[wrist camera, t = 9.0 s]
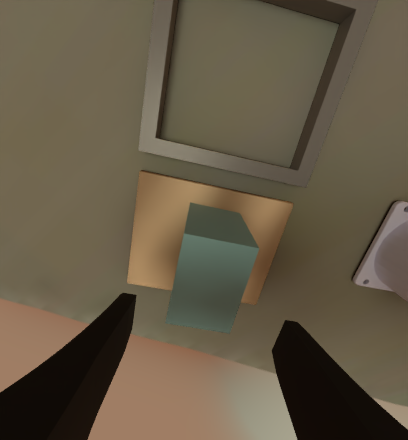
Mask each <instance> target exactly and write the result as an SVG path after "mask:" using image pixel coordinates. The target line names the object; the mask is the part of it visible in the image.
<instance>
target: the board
mask: <svg viewBox="0 0 408 440" xmlns="http://www.w3.org/2000/svg"><path fill="white" fill-rule="evenodd" d="M190 202H191V203H195V204H200V205H205V206H209V207H214V208H219V209H224V210H228V211H233V212H238V213H240V214H241V216H242V218H243V220H244V221H245V223H246V225H247V227H248V229H249V231H250V232H251V234H252V236H253V238H254V240H255V241H256V243H257V245H258V247H259V251H258V254H257V257H256V260H255V263H254V265H253V268H252V271H251V274H250V277H249V280H248V283H247V285H246V288H245V291H244V294H243V297H242V300H241V302H242V303H248V304H254V305H256V304H257V301H258V298H259V296H260V293H261V290H262V288H263V285H264V282H265V280H266V277H267V274H268V272H269V269H270V266H271V264H272V261H273V258H274V256H275V253H276V250H277V248H278V245H279V242H280V240H281V237H282V234H283V231H284V229H285V226H286V223H287V221H288V218H289V215H290V213H291V210H292V207H293V205H294V204H293V203H291V202H288V201H283V200H278V199H274V198H269V197H264V196H260V195H255V194H251V193H246V192H241V191H237V190H232V189H227V188H223V187H218V186H213V185H209V184H204V183H199V182H195V181H190V180H185V179H181V178H176V177H172V176H167V175H162V174H158V173H153V172H148V171H144V170H141V171H140V172H139V181H138V190H137V199H136V208H135V217H134V226H133V235H132V244H131V253H130V262H129V271H128V280H127V283H130V284H136V285H142V286H148V287H154V288H160V289H166V290H172V288H173V283H174V278H175V273H176V268H177V263H178V258H179V253H180V249H181V244H182V239H183V234H184V229H185V225H186V220H187V215H188V210H189V205H190Z"/></svg>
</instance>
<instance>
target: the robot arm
mask: <svg viewBox="0 0 408 440" xmlns="http://www.w3.org/2000/svg"><path fill="white" fill-rule="evenodd" d="M405 207H406V209H405V210H404V208H405ZM364 280H365V281H364ZM353 282H354V283H355V284H357V285H360V286H366V287H371V288H376V289H382V290H387V291H393V292H395V293H397V294H398V295H399V296H401V297H402V298H403V299H404V300H406V301H407V302H408V202H404V201H397V202H395V203H394V204H393V205H392V207H391V209H390V211H389V212H388V214H387V216H386V218H385V220H384V222H383V224H382V225H381V227H380V229H379V231H378V233H377V235H376V237H375V238H374V240H373V242H372V244H371V246H370V248H369V250H368V251H367V253H366V255H365V257H364V259H363V261H362V263H361V264H360V266H359V268H358V270H357V272H356V274H355V276H354V277H353ZM135 303H136V295H133V294H127V293H122V294H120V295H119V297H118V298H117V299H116V300H115V301H114V302H113V303H112V304H111V305H110V306H109V307H108V308H107V309H106V310H105V311H104V312H103V313H102V314H101V315H100V316H99V317H97V318H96V319H95V320H94V321H93V322H92V323H91V324H90V325H89V326H88V327H87V328H85V329H84V330H83V331H82V332H81V333H80V334H78V335H77V336H76V337H75V338H74V339H72V340H71V341H70V342H69V343H68V344H66V345H65V346H64V347H63V348H62V349H60V350H59V351H58V352H56V353H55V354H54V355H53V356H51V357H50V358H49V359H47V360H46V361H45V362H43V363H42V364H41V365H39V366H38V367H37V368H35V369H34V370H32V371H31V372H30V373H28V374H27V375H25V376H24V377H22V378H21V379H20V380H18V381H17V382H15V383H14V384H12V385H11V386H9V387H8V388H6V389H5V390H4V391H2V392H0V440H87V439H88V436H89V434H90V431H91V428H92V426H93V423H94V421H95V418H96V416H97V413H98V411H99V409H100V406H101V404H102V402H103V400H104V397H105V395H106V393H107V391H108V388H109V386H110V384H111V382H112V379H113V377H114V375H115V372H116V370H117V368H118V366H119V363H120V361H121V359H122V356H123V354H124V352H125V349H126V345H127V343H128V340H129V336H130V333H131V330H132V325H133V318H134V310H135ZM272 354H273V359H274V364H275V369H276V373H277V377H278V380H279V384H280V387H281V390H282V393H283V396H284V399H285V402H286V405H287V408H288V412H289V415H290V418H291V421H292V423H293V427H294V430H295V433H296V436H297V440H408V430H407V429H406V428H405V427H404V426H403V425H401V424H400V423H399V422H398V421H397V420H396V419H395V418H393V417H392V416H391V415H390V414H389V413H388V412H387V411H386V410H384V409H383V408H382V407H381V406H380V405H379V404H378V403H377V402H376V401H375V400H374V399H372V398H371V397H370V396H369V395H368V394H367V393H366V392H365V391H364V390H363V389H362V388H361V387H360V386H359V385H358V384H357V383H356V382H355V381H354V380H353V379H352V378H351V377H350V376H349V375H348V374H347V373H346V372H345V371H344V370H343V369H342V368H341V367H340V366H339V365H338V364H337V363H336V362H335V361H334V360H333V359H332V358H331V357H330V356H329V355H328V354H327V353H326V351H325V350H324V349H323V348H322V347H321V346H320V345H319V344H318V343H317V342H316V341H315V340H314V339H313V338H312V337H311V335H310V334H309V333H308V332H307V331H306V330H305V329H304V328H303V327H302V326H301V325H300V324H299V323H298V322H294V321H288V320H285V322H284V324H283V327H282V329H281V331H280V333H279V336H278V338H277V340H276V342H275V345H274V347H273V349H272Z"/></svg>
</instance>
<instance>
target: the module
mask: <svg viewBox="0 0 408 440" xmlns="http://www.w3.org/2000/svg"><path fill="white" fill-rule="evenodd" d="M258 251H259V247H258V245H257V243H256V241H255V240H254V238H253V236H252V234H251V232H250V231H249V229H248V227H247V225H246V223H245V221H244V220H243V218H242V216H241V214H240V213H238V212H233V211H228V210H224V209H219V208H214V207H209V206H205V205H200V204H195V203H191V202H190V205H189V210H188V215H187V220H186V225H185V229H184V234H183V239H182V244H181V249H180V253H179V258H178V263H177V268H176V273H175V278H174V283H173V288H172V293H171V298H170V302H169V307H168V312H167V317H166V322H165V323H167V324H174V325H180V326H186V327H192V328H198V329H205V330H211V331H217V332H223V333H229V334H230V331H231V328H232V326H233V323H234V320H235V317H236V314H237V311H238V308H239V305H240V303H241V300H242V297H243V294H244V291H245V288H246V285H247V283H248V280H249V277H250V274H251V271H252V268H253V265H254V263H255V260H256V257H257V254H258Z"/></svg>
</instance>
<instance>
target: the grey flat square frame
mask: <svg viewBox="0 0 408 440" xmlns="http://www.w3.org/2000/svg"><path fill="white" fill-rule="evenodd" d="M261 1H264V2H268V3H271V4H274V5H278V6H281V7H285V8H288V9H291V10H295V11H298V12H301V13H305V14H308V15H312V16H315V17H318V18H322V19H325V20H329V21H332V22H335V23H339V24H340V25H339V28H338V31H337V34H336V36H335V39H334V42H333V45H332V48H331V51H330V54H329V57H328V60H327V62H326V65H325V68H324V71H323V74H322V77H321V80H320V83H319V86H318V88H317V91H316V94H315V97H314V100H313V103H312V106H311V109H310V111H309V114H308V117H307V120H306V123H305V126H304V129H303V132H302V135H301V137H300V140H299V143H298V146H297V149H296V152H295V155H294V158H293V160H292V163H291V166H290V168H285V167H281V166H277V165H272V164H268V163H264V162H259V161H255V160H251V159H246V158H242V157H237V156H233V155H229V154H224V153H220V152H216V151H211V150H207V149H203V148H198V147H194V146H189V145H185V144H181V143H176V142H172V141H168V140H163V139H160V132H161V124H162V117H163V110H164V102H165V95H166V88H167V80H168V73H169V66H170V58H171V51H172V43H173V36H174V29H175V21H176V14H177V7H178V0H154V8H153V17H152V27H151V36H150V46H149V55H148V64H147V74H146V83H145V93H144V102H143V112H142V121H141V130H140V140H139V149H138V150H139V151H143V152H148V153H152V154H157V155H161V156H166V157H170V158H175V159H179V160H184V161H188V162H193V163H197V164H202V165H206V166H211V167H215V168H220V169H224V170H229V171H233V172H238V173H242V174H247V175H251V176H256V177H260V178H265V179H269V180H274V181H278V182H283V183H287V184H292V185H296V186H301V187H305V188H306V187H307V185H308V182H309V179H310V177H311V174H312V172H313V169H314V166H315V164H316V161H317V159H318V156H319V153H320V151H321V148H322V146H323V143H324V140H325V138H326V135H327V133H328V130H329V127H330V125H331V122H332V120H333V117H334V114H335V112H336V109H337V107H338V104H339V101H340V99H341V96H342V94H343V91H344V88H345V86H346V83H347V81H348V78H349V75H350V73H351V70H352V68H353V65H354V62H355V60H356V57H357V55H358V52H359V49H360V47H361V44H362V42H363V39H364V36H365V34H366V31H367V29H368V26H369V23H370V21H371V18H372V16H373V13H374V10H375V8H376V5H377V3H378V0H261Z"/></svg>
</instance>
